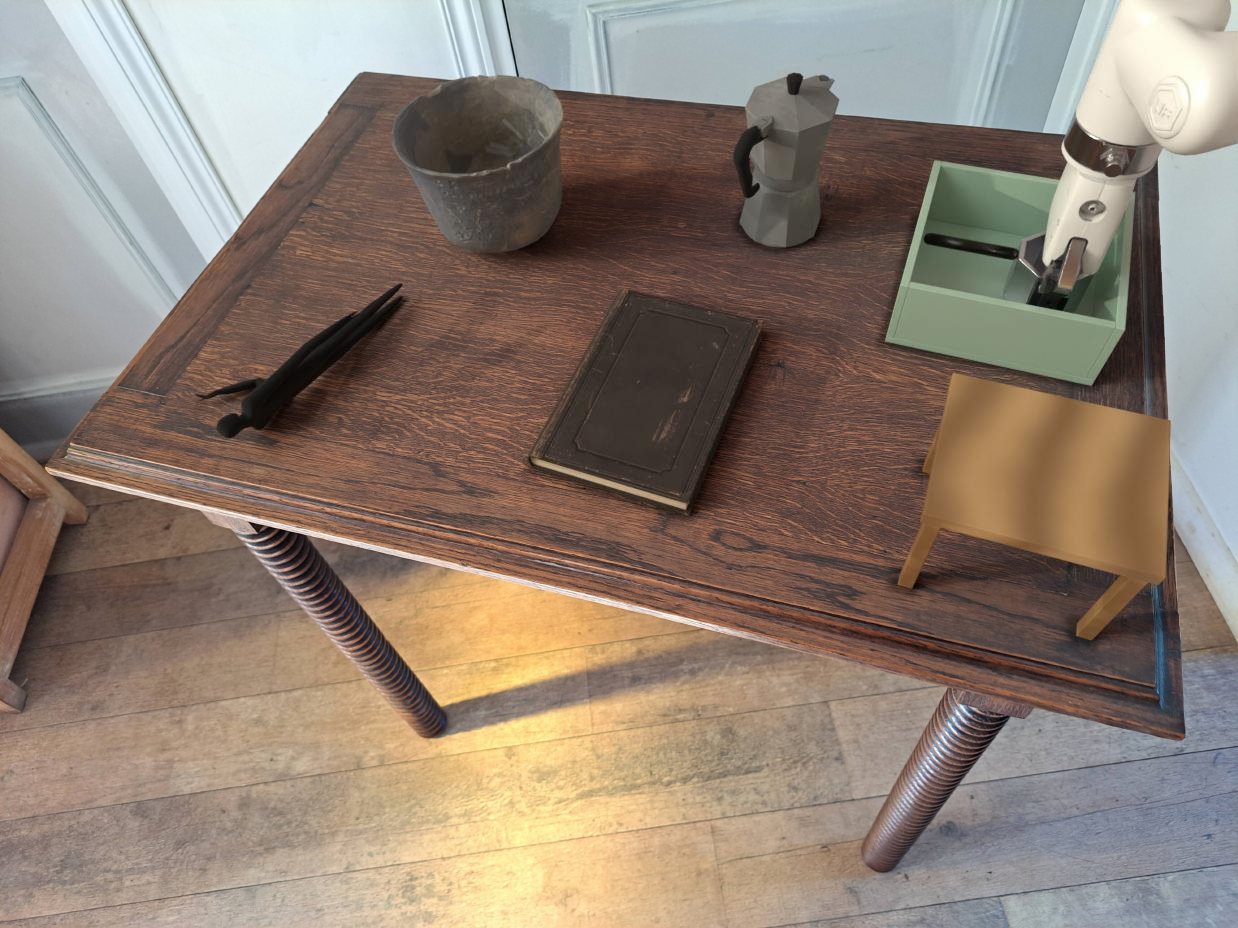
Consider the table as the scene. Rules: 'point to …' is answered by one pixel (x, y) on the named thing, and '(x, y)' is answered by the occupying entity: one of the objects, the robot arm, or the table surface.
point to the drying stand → (1050, 485)
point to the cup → (485, 159)
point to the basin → (1003, 281)
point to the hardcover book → (649, 400)
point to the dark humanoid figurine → (301, 368)
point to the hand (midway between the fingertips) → (1044, 290)
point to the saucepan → (1017, 265)
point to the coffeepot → (784, 158)
